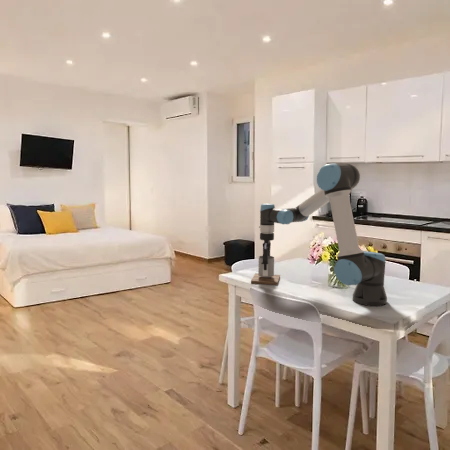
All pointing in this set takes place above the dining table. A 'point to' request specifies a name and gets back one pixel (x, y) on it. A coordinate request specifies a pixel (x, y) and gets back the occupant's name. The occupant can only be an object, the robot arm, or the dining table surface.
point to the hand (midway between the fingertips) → (266, 273)
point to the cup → (270, 266)
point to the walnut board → (265, 280)
